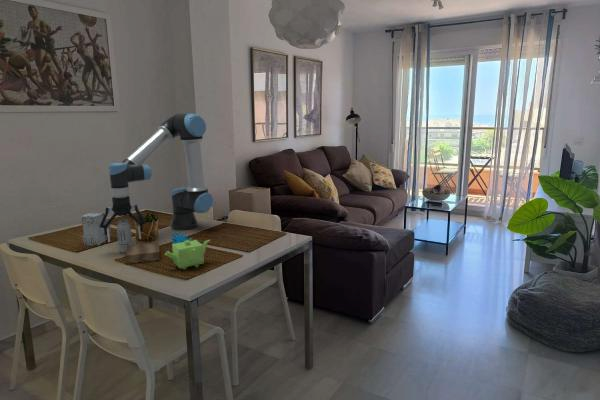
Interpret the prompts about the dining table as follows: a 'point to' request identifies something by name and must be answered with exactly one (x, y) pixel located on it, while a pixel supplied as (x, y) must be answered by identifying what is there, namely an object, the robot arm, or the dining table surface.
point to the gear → (179, 238)
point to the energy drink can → (124, 235)
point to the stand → (142, 253)
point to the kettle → (188, 253)
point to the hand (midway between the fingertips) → (124, 239)
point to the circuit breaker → (94, 228)
